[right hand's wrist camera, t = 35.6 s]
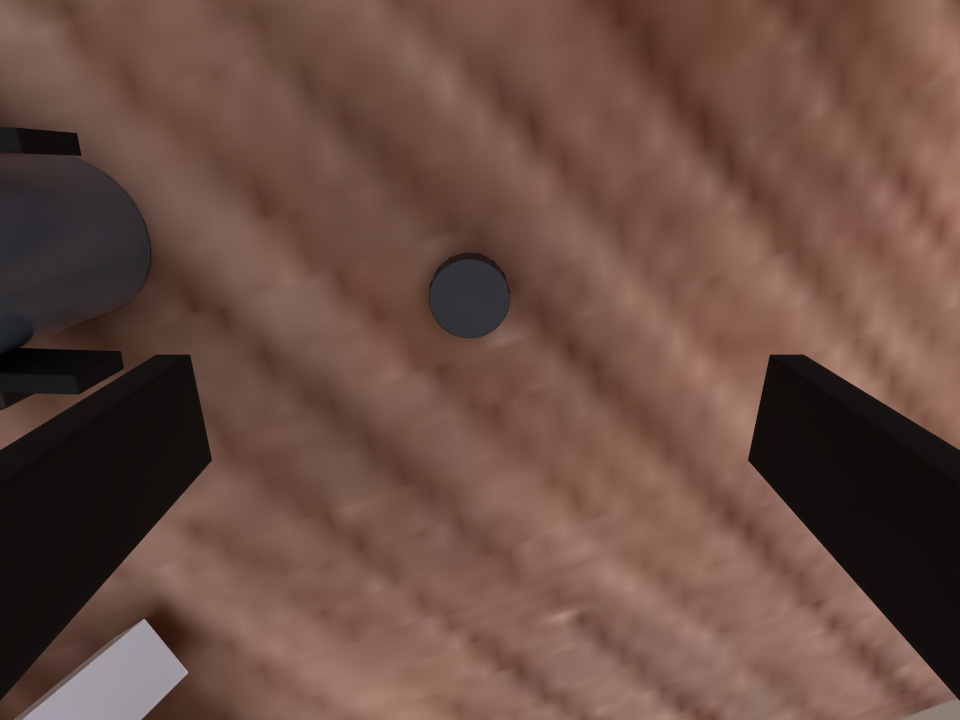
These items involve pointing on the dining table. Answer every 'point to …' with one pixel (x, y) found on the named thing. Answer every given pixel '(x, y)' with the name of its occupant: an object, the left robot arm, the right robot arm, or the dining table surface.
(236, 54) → the dining table surface
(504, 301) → the cap
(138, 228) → the bottle
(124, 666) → the pile of blocks
